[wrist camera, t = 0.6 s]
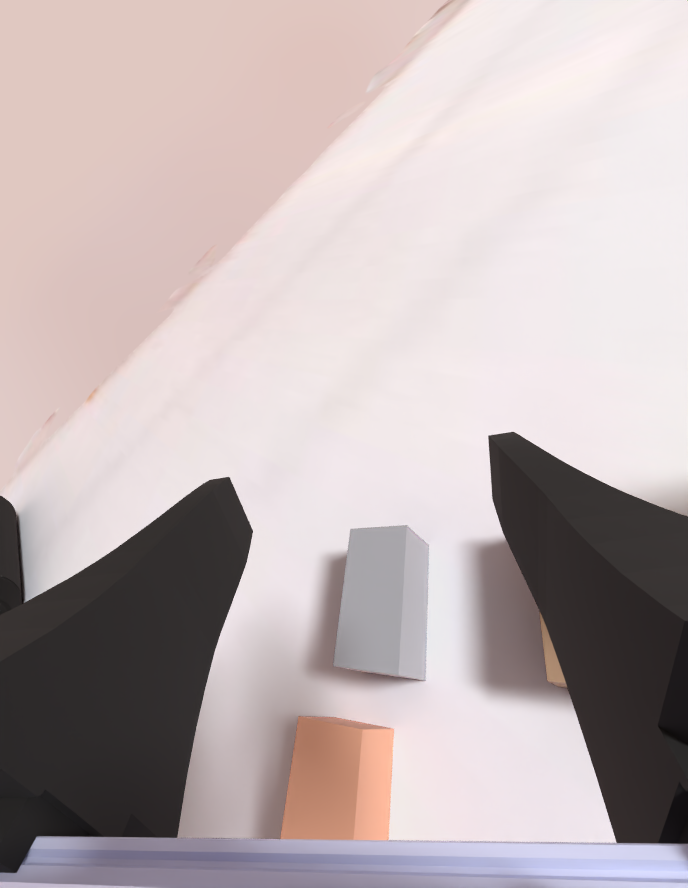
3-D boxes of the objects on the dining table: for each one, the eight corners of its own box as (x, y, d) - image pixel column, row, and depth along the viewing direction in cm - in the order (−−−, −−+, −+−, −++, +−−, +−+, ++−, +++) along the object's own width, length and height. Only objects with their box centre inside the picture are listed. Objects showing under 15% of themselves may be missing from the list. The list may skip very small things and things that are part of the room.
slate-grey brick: (426, 680, 23) (398, 674, 21) (366, 672, 25) (332, 665, 23) (430, 545, 27) (406, 525, 25) (377, 547, 29) (350, 529, 27)
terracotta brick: (385, 934, 19) (342, 971, 16) (315, 901, 21) (266, 929, 18) (395, 728, 23) (362, 729, 20) (336, 717, 25) (298, 716, 22)
